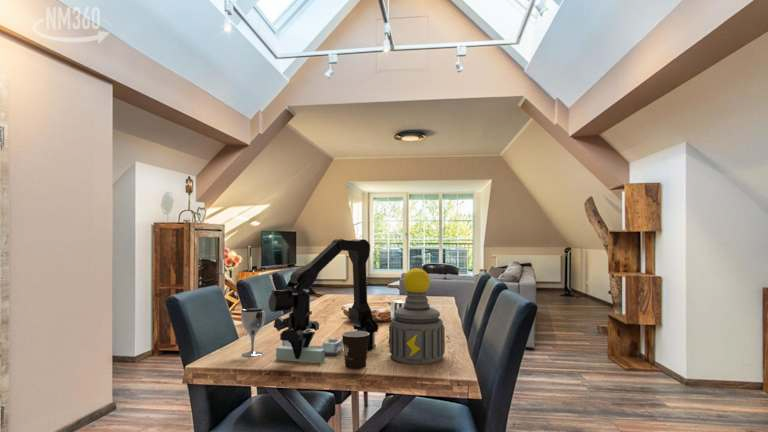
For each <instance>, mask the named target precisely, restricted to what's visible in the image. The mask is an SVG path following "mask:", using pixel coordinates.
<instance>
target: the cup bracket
mask: <svg viewBox="0 0 768 432" xmlns="http://www.w3.org/2000/svg"><path fill="white" fill-rule="evenodd" d="M281 341H282V345H281V346H290V347H292V345H291V343H290V342H289V341H283V340H281ZM308 348H317V349H325V356H334V357H335V356H338V355H339V354H340V353H341V352H342V351H343V352H344V348H343V338H331V337H330V338H328V341H327V342H322V345H309V347H308Z"/></svg>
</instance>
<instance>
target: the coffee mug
mask: <svg viewBox="0 0 768 432" xmlns="http://www.w3.org/2000/svg"><path fill="white" fill-rule="evenodd" d="M341 335H342V338H341V339H343V356H344V367H345V368H346V369H349V370H361V369H364V368H366V366H367V365H366V364H367V360H368V359H367V357H368V351H369V350H368V342H369V333H368V332H364V331H357V330H350V331H349V330H348V331H345V332H343V333H341Z"/></svg>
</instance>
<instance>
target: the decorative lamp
mask: <svg viewBox="0 0 768 432" xmlns="http://www.w3.org/2000/svg"><path fill="white" fill-rule="evenodd" d="M403 285H404V286H403V287H404V289H405V290H406V291H407V293H406V296H407V297H405V300H404V301H406V303H405V304H404V307H401V308H399V309H397V310H395V311H394V316H395V317H394V318H392V319H391V318H390V320H391V322H390V324H389V326H388V335H389V336H388V346H389V354H391V355H390V356H391V358H392V359H393V360H394V361H397V362H399V363H403V364H409V365H430V364H434V363H437V362H438V363H439V362H440V361H441V360H442V359H443V356H444V355H445V354H446V353H445V352H446V336H445V335H446V332H445V331H446V328H445V325H444V324H443V323H444V321H443V320H442V319H441V318H439V317H440V316H441V313H440V311H439V310H438V309H436V308H434V307H431V306H430V304H429V303H428V302H429V299H428V297H427V296H428V294H427V291H428V290H429V288H430V286H431V279H430V277H429V274H428V273H427V271H425V270H424V269H422V268H418V267H417V268H416V267H415V268H412V269H409V270H408V271H407V272H406V273H405V275H404V277H403Z"/></svg>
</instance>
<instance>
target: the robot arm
mask: <svg viewBox="0 0 768 432" xmlns="http://www.w3.org/2000/svg"><path fill="white" fill-rule="evenodd" d="M342 251H343V252H348V257H349V259H350V261H351V264H352V279H353V280H352V282H353V284H352V286H353V304H352V307H348V320H349V322H350V323H351V325H352V327H353V329H354V331H364V332H368V333H369V342H368V350H367V351H373V349H374V348H375V347H377V344H376V343H375V342H376V341H375V340H376V339H375V338H376V336H375V334H376V333H377V332H378V331H379V327H380V325H378V323H377V322H376V321H375V320H374V318H373V313H372V309H371V308H370V305H369V303H368V288H367V287H368V286H367V285H368V283H367V261H369V258H370V252H371V244H370V242H369V241H368V240H367V239H364V238H362V239H359V238H358V239H357V238H355V239H354V238H353V239H351V240H347V239H345V238H344V239H343V238H335V239H333V240H332V241H331V243H329V244H328V245H327V246H326V248H324V249H323V250H322V251H321V252H320V253H319V254H318V255H316V256H315V257H314V259H312V260H311V261H310V262H309V263H307V264H305V265H303V266H301V267H299V268H298V269H296V270H294V271H293V272H292V273H291V274H290V280H289V281H288V282H287V283H286V285H285V286H284V288H283V289H272V290H271V294H270V295H269V299H268V308H269V311H270V312H271V313H276V312H285V311H290V310H291V312H289V314H288V316H287V317H284V318H283V317H280V316H279V317H277V318H275V319H274V322H273V323H274V324H273V328H275V329H276V331H277V332H280V331H281V330H283V331H282V332H281V333H280V335H279V338H280V339H279V340H280V341H289V342H290V343H291V345H292V348H293V352H294V355H295V358H296V359H299V357H300V355H301V352H302V348H308V347H309V346H310V344H311V342H312V340H313V337H314V335H315V334H316V331H318V330H320V323H319V322H318V321H317V320H311V316H312V313H313V311H312V310H311V307H310V306H311V296H312V295H313V296H315V295H317V292H316V291H315V290H313V288H312V285H313V284H314V283H315V281H316V280H317V279H318V276H319V274H320V272H321V271H322V270H324V269H325V267H327V266H328V265H329V264H330V262H332V261H333V260H334V259H335V258H336V257H337V256H338V255H339V254H341V252H342ZM310 315H311V316H310ZM284 329H285V330H284ZM312 330H314V331H312Z"/></svg>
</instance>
